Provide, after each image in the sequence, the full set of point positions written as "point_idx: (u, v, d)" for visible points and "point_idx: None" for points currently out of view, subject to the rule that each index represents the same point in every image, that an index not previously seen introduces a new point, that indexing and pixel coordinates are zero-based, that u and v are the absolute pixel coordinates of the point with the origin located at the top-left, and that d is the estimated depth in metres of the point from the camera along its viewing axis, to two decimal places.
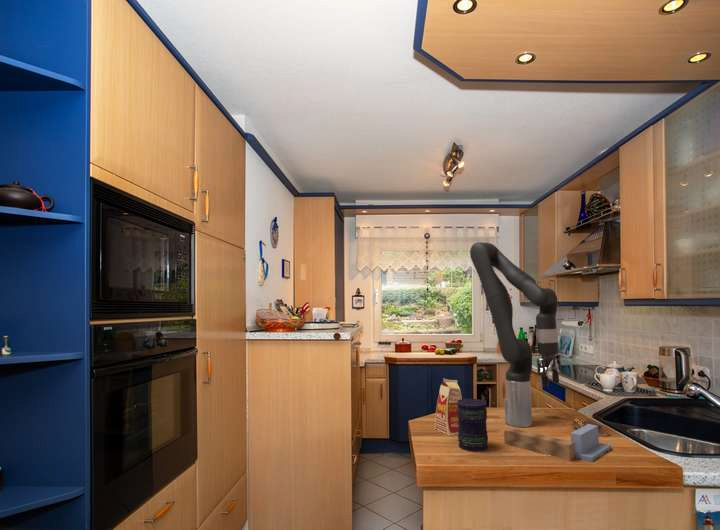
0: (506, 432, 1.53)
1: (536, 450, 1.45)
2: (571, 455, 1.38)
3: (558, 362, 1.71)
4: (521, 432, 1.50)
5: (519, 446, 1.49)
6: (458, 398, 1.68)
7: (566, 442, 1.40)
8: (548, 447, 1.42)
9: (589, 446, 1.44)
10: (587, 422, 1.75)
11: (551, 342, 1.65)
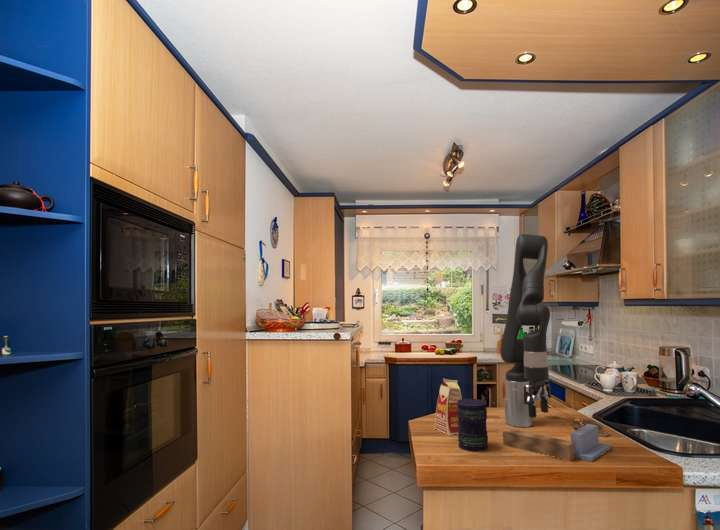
0: (505, 433, 1.52)
1: (536, 451, 1.44)
2: (571, 455, 1.38)
3: (547, 388, 1.51)
4: (520, 433, 1.50)
5: (518, 447, 1.49)
6: (458, 398, 1.68)
7: (566, 442, 1.40)
8: (548, 448, 1.42)
9: (589, 446, 1.44)
10: (587, 422, 1.75)
11: (540, 367, 1.45)
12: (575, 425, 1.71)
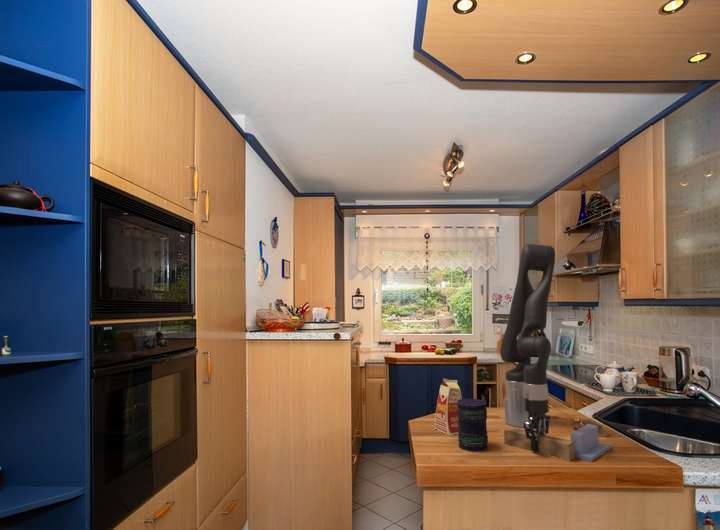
0: (506, 431, 1.53)
1: None
2: (571, 454, 1.38)
3: (546, 423, 1.49)
4: (521, 432, 1.50)
5: (519, 445, 1.49)
6: (458, 398, 1.68)
7: (566, 441, 1.40)
8: (548, 447, 1.42)
9: (589, 446, 1.44)
10: (587, 422, 1.75)
11: (540, 400, 1.44)
12: (575, 425, 1.71)
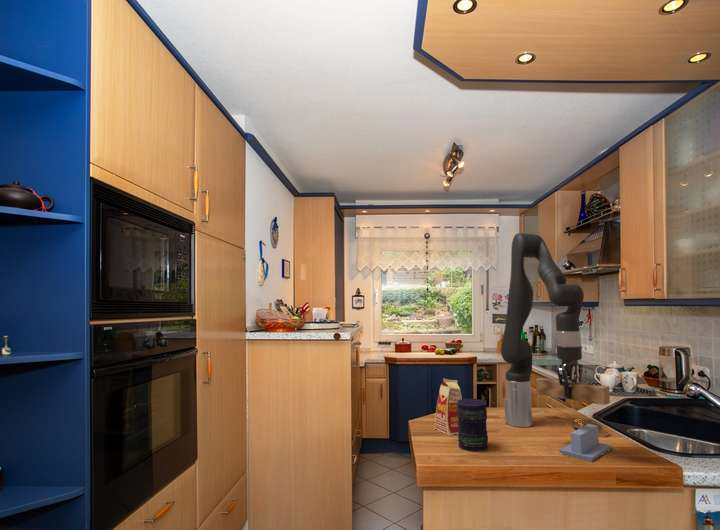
0: (538, 381, 1.53)
1: None
2: (606, 398, 1.38)
3: (579, 372, 1.49)
4: (554, 380, 1.50)
5: (552, 394, 1.49)
6: (458, 398, 1.68)
7: (600, 386, 1.40)
8: (582, 392, 1.42)
9: (589, 446, 1.44)
10: (587, 422, 1.75)
11: (573, 346, 1.44)
12: (575, 425, 1.71)
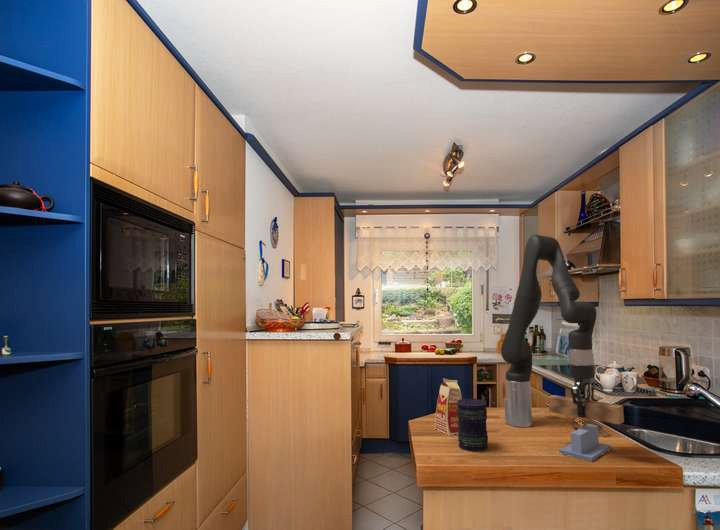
0: (550, 399, 1.52)
1: None
2: (620, 418, 1.37)
3: (591, 390, 1.49)
4: (566, 398, 1.50)
5: (564, 412, 1.48)
6: (458, 398, 1.68)
7: (615, 405, 1.39)
8: (596, 411, 1.41)
9: (589, 446, 1.44)
10: (587, 422, 1.75)
11: (587, 365, 1.43)
12: (575, 425, 1.71)
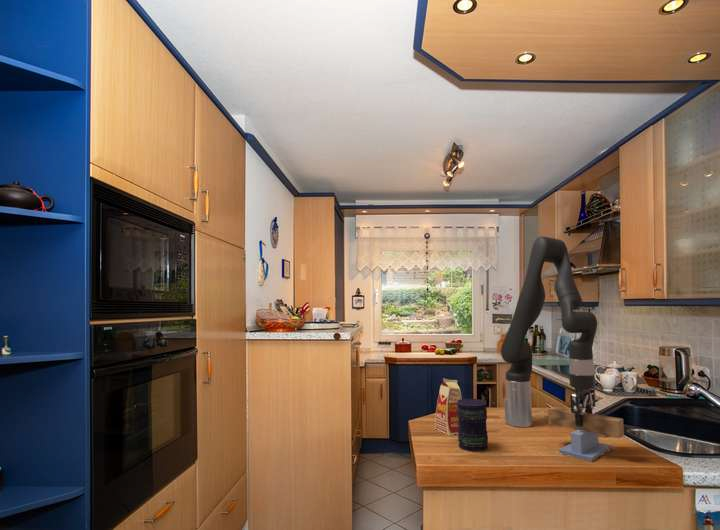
0: (550, 410, 1.52)
1: (583, 428, 1.44)
2: (620, 431, 1.37)
3: (592, 397, 1.49)
4: (566, 411, 1.49)
5: (564, 424, 1.48)
6: (458, 398, 1.68)
7: (615, 419, 1.39)
8: (596, 424, 1.41)
9: (589, 446, 1.44)
10: None
11: (587, 375, 1.43)
12: None
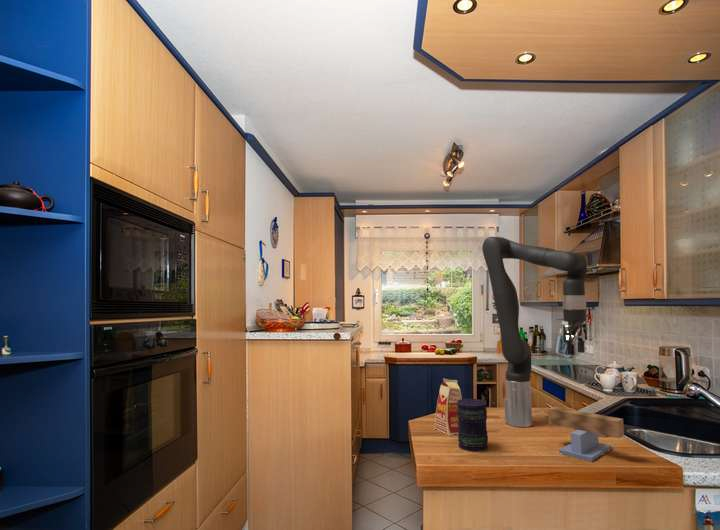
0: (550, 410, 1.52)
1: (583, 428, 1.44)
2: (620, 431, 1.37)
3: (584, 331, 1.62)
4: (566, 411, 1.49)
5: (564, 424, 1.48)
6: (458, 398, 1.68)
7: (615, 419, 1.39)
8: (596, 424, 1.41)
9: (589, 446, 1.44)
10: None
11: (579, 309, 1.56)
12: None
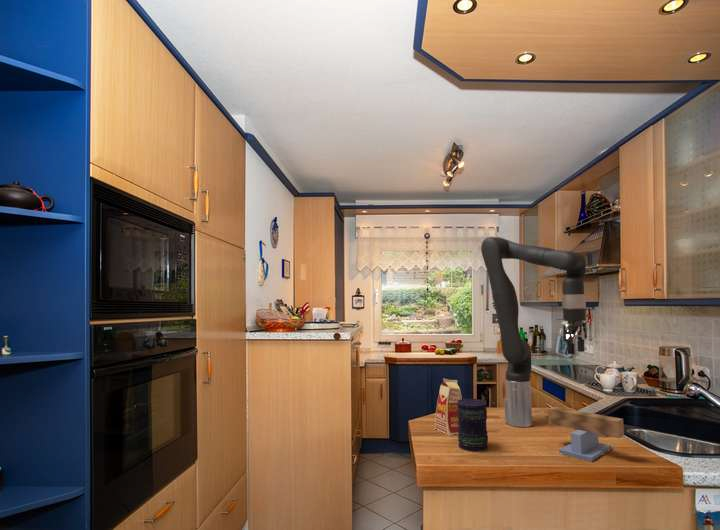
0: (550, 410, 1.52)
1: (583, 428, 1.44)
2: (620, 431, 1.37)
3: (584, 330, 1.62)
4: (566, 411, 1.49)
5: (564, 424, 1.48)
6: (458, 398, 1.68)
7: (615, 419, 1.39)
8: (596, 424, 1.41)
9: (589, 446, 1.44)
10: None
11: (579, 308, 1.56)
12: None
